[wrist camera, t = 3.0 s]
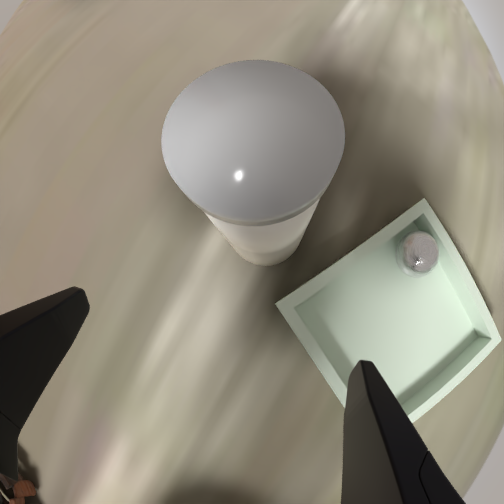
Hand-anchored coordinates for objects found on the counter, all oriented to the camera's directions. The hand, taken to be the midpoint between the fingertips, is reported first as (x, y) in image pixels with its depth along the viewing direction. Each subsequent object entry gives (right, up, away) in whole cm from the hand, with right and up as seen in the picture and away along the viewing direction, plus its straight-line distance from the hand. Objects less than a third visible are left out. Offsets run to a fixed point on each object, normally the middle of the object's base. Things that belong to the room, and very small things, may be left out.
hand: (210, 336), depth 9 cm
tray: (+11, -3, +12) cm, 17 cm away
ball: (+12, +2, +12) cm, 17 cm away
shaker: (+2, +4, +13) cm, 14 cm away
